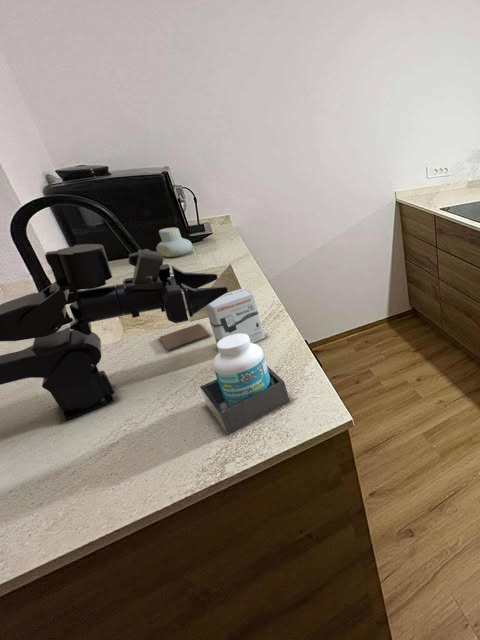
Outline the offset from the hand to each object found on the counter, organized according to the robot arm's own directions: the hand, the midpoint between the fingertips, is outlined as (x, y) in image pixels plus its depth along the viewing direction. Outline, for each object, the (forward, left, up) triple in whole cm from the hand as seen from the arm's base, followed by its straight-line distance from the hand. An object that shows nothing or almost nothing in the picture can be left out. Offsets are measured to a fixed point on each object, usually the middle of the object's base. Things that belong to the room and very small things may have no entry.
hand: (221, 282), depth 78 cm
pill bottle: (-6, -21, -17) cm, 27 cm away
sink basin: (-6, -20, -16) cm, 27 cm away
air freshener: (+8, +89, -17) cm, 91 cm away
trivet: (-7, +16, -16) cm, 24 cm away
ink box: (+1, +3, -17) cm, 17 cm away
